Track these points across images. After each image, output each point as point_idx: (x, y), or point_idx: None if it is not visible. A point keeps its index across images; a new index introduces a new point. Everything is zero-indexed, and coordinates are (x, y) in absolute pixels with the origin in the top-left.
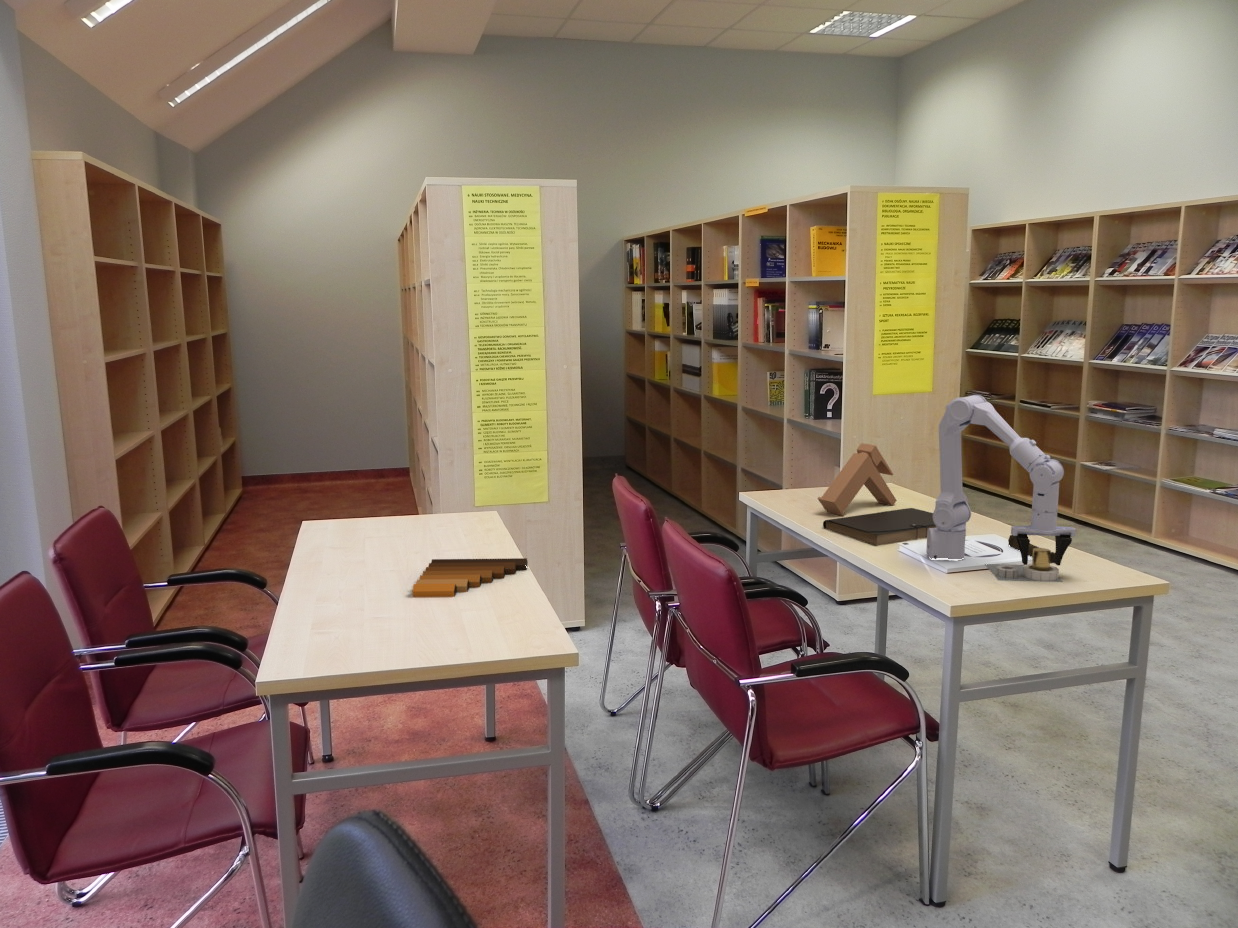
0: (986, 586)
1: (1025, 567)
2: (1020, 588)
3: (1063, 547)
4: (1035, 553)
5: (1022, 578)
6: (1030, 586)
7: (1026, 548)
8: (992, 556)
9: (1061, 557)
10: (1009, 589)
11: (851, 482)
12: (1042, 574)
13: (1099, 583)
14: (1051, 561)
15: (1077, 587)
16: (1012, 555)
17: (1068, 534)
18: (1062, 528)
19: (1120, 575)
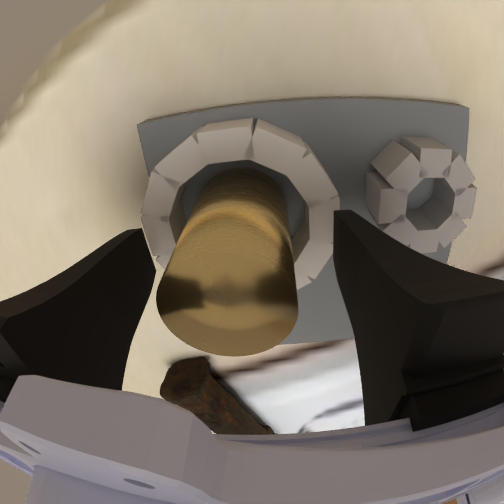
0: (501, 76)
1: (329, 225)
2: (374, 34)
3: (47, 289)
4: (285, 267)
5: (350, 142)
6: (316, 71)
7: (397, 259)
8: (342, 404)
9: (97, 249)
10: (426, 22)
11: (455, 501)
12: (244, 124)
13: (28, 201)
14: (181, 372)
15: (88, 114)
16: (284, 415)
17: (1, 401)
18: (19, 463)
19: (11, 293)
